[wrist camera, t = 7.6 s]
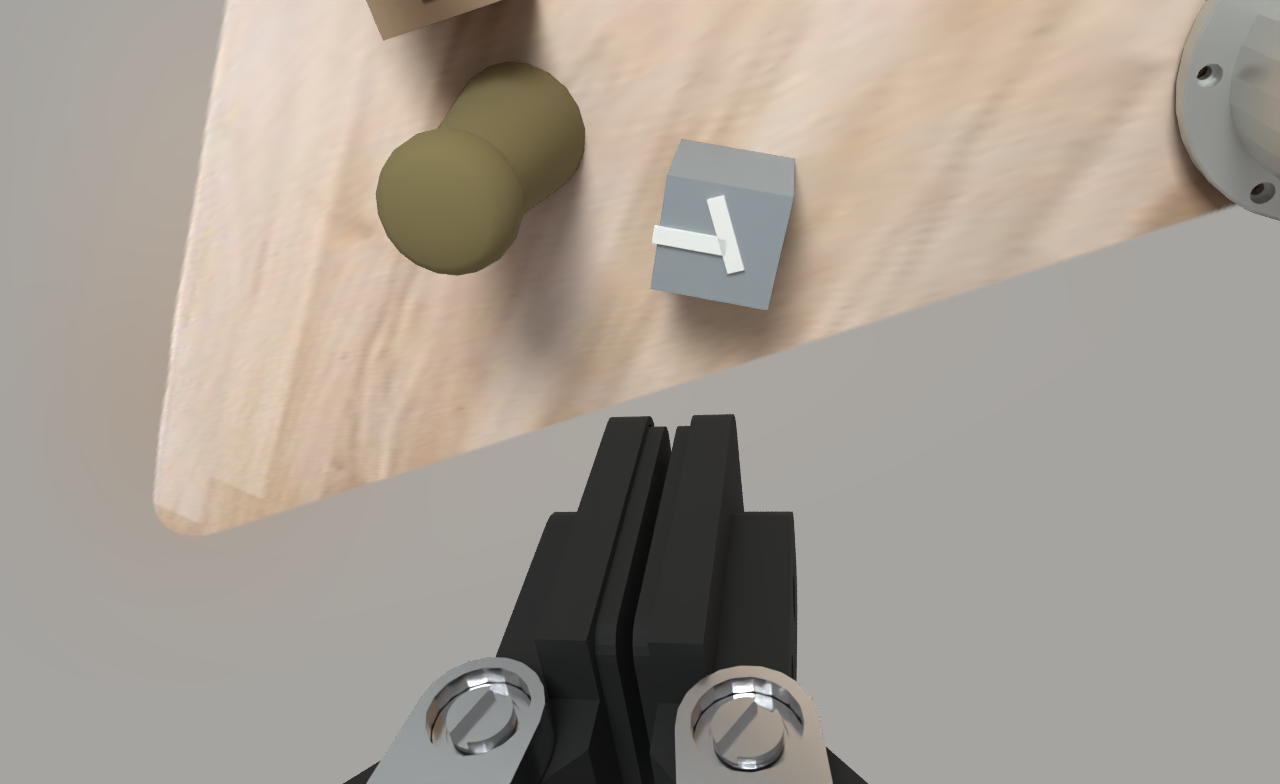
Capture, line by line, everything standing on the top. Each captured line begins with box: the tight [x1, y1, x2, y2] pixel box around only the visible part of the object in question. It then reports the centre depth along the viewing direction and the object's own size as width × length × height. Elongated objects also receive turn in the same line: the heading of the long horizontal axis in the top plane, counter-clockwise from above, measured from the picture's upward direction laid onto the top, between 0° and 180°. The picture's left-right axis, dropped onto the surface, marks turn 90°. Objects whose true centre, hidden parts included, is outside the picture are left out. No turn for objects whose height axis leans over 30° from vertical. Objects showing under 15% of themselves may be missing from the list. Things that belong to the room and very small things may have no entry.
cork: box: [376, 62, 585, 276], centre depth 35 cm, size 6×6×11 cm
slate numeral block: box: [651, 139, 795, 310], centre depth 38 cm, size 5×5×5 cm
